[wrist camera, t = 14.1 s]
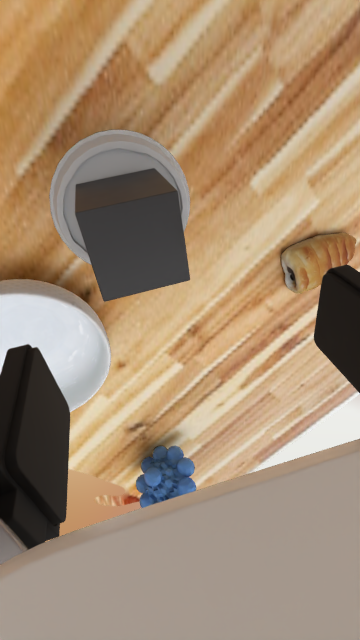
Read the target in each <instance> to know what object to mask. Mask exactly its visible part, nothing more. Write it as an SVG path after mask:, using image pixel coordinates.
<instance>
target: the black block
mask: <svg viewBox="0 0 360 640" xmlns="http://www.w3.org/2000/svg"><path fill="white" fill-rule="evenodd" d="M75 216H76V219H77V222H78V225H79V228H80V231H81V234H82V237H83V240H84V243H85V246H86V249H87V252H88V255H89V258H90V261H91V264H92V267H93V270H94V273H95V276H96V279H97V282H98V285H99V288H100V291H101V294H102V297H103V300H104V301H109V300H113V299H117V298H121V297H125V296H129V295H133V294H137V293H141V292H145V291H149V290H153V289H157V288H161V287H165V286H169V285H173V284H176V283H180V282H184V281H188V280H190V275H189V267H188V260H187V253H186V246H185V238H184V231H183V224H182V217H181V209H180V202H179V195H178V191H177V190H176V189H175V188H174V187H173V186H172V185H171V184H170V183H169V182H168V181H167V180H166V179H165V178H164V177H163V176H162V175H161V174H160V173H159V172H158V171H157V170H156V169H155V168H152V169H148V170H143V171H138V172H133V173H128V174H123V175H119V176H114V177H109V178H104V179H99V180H94V181H90V182H85V183H80V184H76V188H75Z"/></svg>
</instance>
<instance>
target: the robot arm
mask: <svg viewBox="0 0 360 640" xmlns="http://www.w3.org/2000/svg"><path fill="white" fill-rule="evenodd" d="M314 340H315V343H316V345H317V347H318V348H319V349H320V350H321V351H322V352H323V353H324V354H325V355H326V356H327V358H328V359H329V360H330V361H331V362H332V363H333V364H334V365H335V366H336V367H337V369H338V370H339V371H340V372H341V373H342V374H343V375H344V376H345V377H346V379H347V380H348V381H349V382H350V383H351V384H352V385H353V386H354V387H355V388H356V390H357V391H358V392H359V393H360V272H358V271H357V270H355V269H354V268H352V267H351V266H349V265H342V266H338V267H334V268H330V269H329V270H328V271H327V272H326V274H325V275H324V276H323V278H322V283H321V290H320V297H319V304H318V311H317V318H316V325H315V332H314ZM69 431H70V409H69V406H68V403H67V401H66V399H65V397H64V395H63V394H62V392H61V390H60V388H59V386H58V384H57V382H56V380H55V378H54V376H53V375H52V373H51V371H50V369H49V367H48V365H47V363H46V361H45V359H44V357H43V355H42V354H41V352H40V350H39V348H38V347H34V348H32V347H31V346H30V345H29V344H26V345H22V346H18V347H14V348H10V349H8V351H7V353H6V357H5V360H4V364H3V367H2V371H1V374H0V640H360V439H358V440H354V441H351V442H348V443H345V444H342V445H339V446H335V447H332V448H329V449H326V450H323V451H319V452H316V453H313V454H310V455H307V456H304V457H300V458H297V459H294V460H291V461H288V462H284V463H282V464H278V465H275V466H272V467H269V468H265V469H262V470H259V471H256V472H253V473H250V474H246V475H243V476H240V477H237V478H234V479H231V480H228V481H224V482H221V483H218V484H215V485H212V486H209V487H206V488H203V489H200V490H196V491H193V492H190V493H187V494H184V495H181V496H178V497H175V498H172V499H168V500H165V501H162V502H159V503H156V504H153V505H150V506H147V507H144V508H141V509H138V510H134V511H131V512H128V513H126V514H123V515H120V516H117V517H114V518H111V519H108V520H105V521H102V522H99V523H96V524H93V525H90V526H88V527H85V528H82V529H79V530H76V531H73V532H70V533H68V534H65V535H62V536H60V537H59V528H60V523H62V522H64V521H65V519H66V506H67V481H68V457H69ZM56 537H57V538H56ZM53 538H55V539H53ZM50 539H52V540H50ZM47 540H50V541H47ZM45 541H47V542H45Z"/></svg>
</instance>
